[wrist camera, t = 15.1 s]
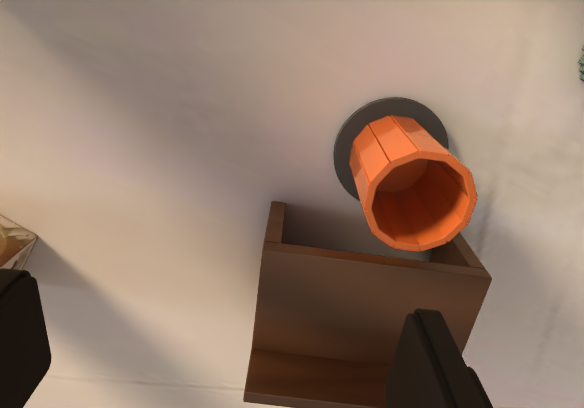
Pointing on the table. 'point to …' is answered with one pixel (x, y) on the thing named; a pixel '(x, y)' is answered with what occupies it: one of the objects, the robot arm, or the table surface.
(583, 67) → the can
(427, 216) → the cup
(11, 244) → the coffee box
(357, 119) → the coaster
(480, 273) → the shelf
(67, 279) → the table surface
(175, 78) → the table surface
